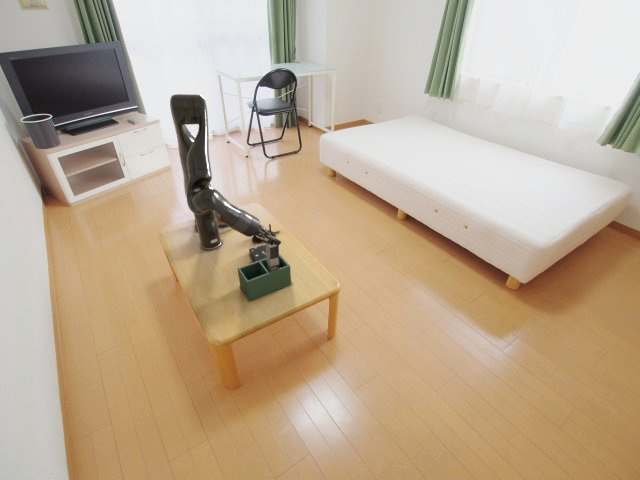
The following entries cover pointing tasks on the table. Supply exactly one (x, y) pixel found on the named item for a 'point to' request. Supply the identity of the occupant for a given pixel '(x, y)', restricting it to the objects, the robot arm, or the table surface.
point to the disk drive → (258, 253)
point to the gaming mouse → (259, 240)
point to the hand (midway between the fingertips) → (276, 240)
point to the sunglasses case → (218, 224)
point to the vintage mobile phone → (272, 255)
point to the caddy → (263, 278)
